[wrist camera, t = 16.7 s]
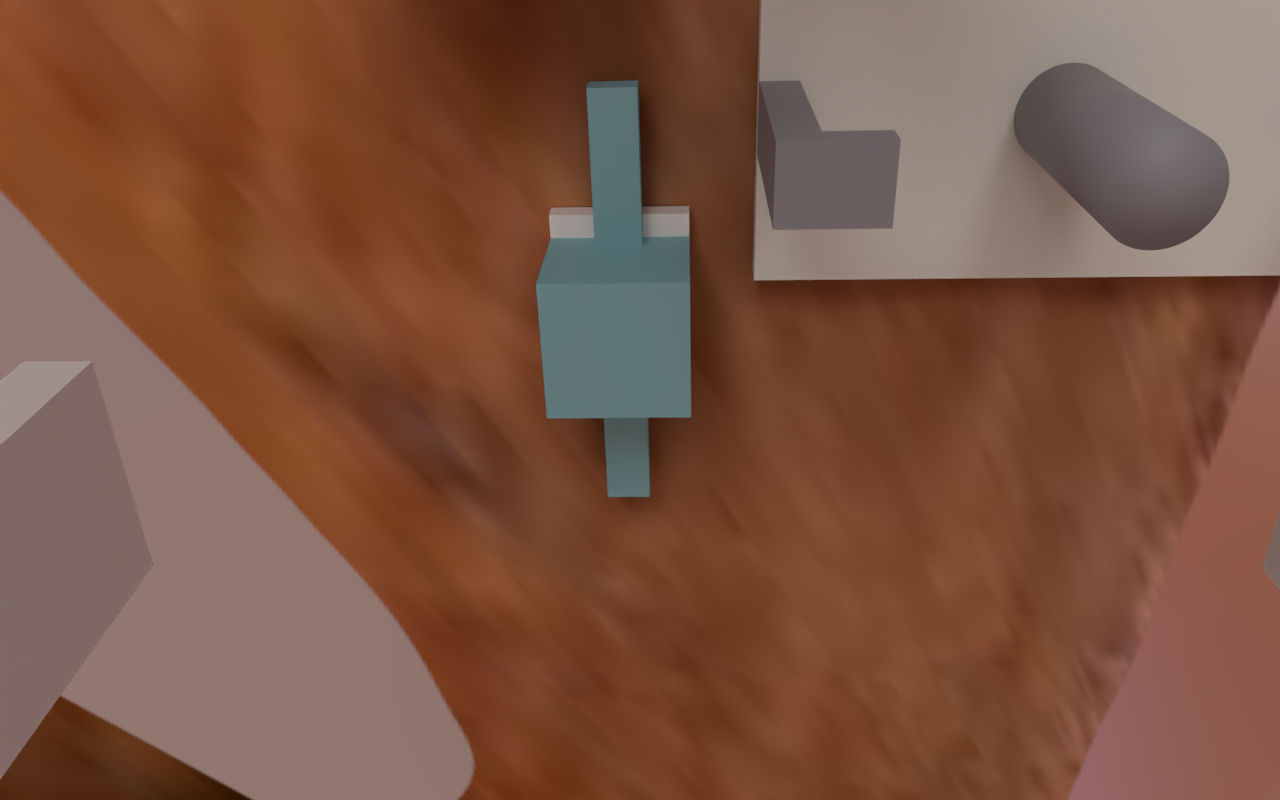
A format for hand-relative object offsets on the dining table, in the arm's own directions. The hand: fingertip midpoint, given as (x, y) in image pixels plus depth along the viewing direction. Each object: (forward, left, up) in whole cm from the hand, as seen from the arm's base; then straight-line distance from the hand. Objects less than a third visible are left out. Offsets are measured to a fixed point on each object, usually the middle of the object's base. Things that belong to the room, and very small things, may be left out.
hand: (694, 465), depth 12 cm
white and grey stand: (+4, +15, -35) cm, 38 cm away
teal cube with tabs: (+12, -3, -34) cm, 36 cm away
